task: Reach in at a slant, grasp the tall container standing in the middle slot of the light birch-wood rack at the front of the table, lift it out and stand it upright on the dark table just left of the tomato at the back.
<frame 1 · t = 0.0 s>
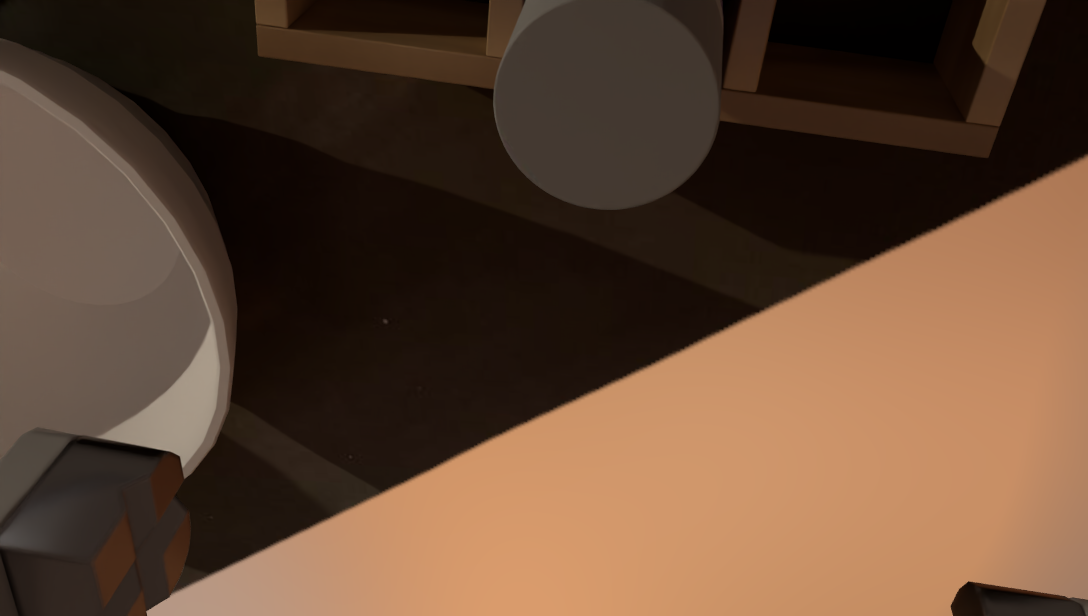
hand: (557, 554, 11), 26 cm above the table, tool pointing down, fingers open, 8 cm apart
bowl: (78, 194, 41), on the table
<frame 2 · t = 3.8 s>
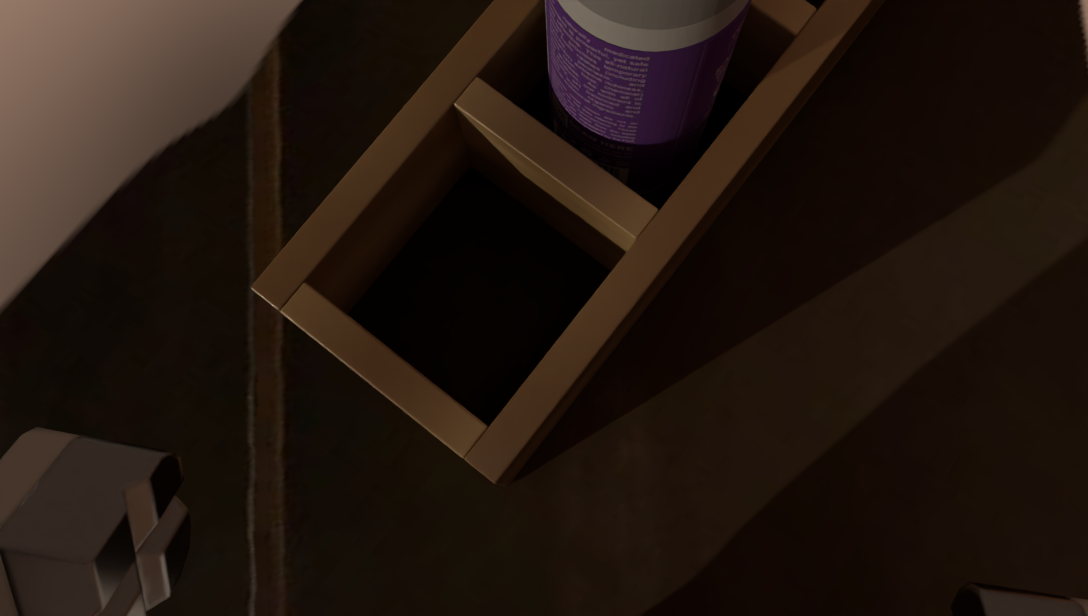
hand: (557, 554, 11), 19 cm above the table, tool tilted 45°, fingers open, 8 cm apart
container: (625, 127, 32), resting in rack
rack: (625, 125, 31), on the table
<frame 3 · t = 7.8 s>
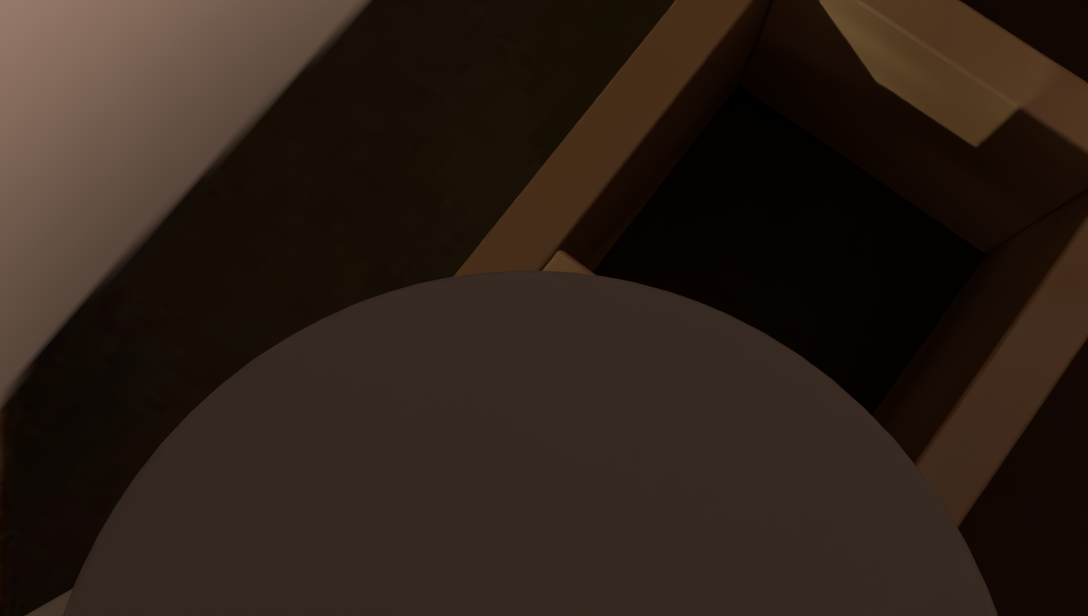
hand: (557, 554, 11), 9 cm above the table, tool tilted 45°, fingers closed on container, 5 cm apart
container: (560, 568, 19), resting in rack, touching gripper
rack: (560, 569, 19), on the table
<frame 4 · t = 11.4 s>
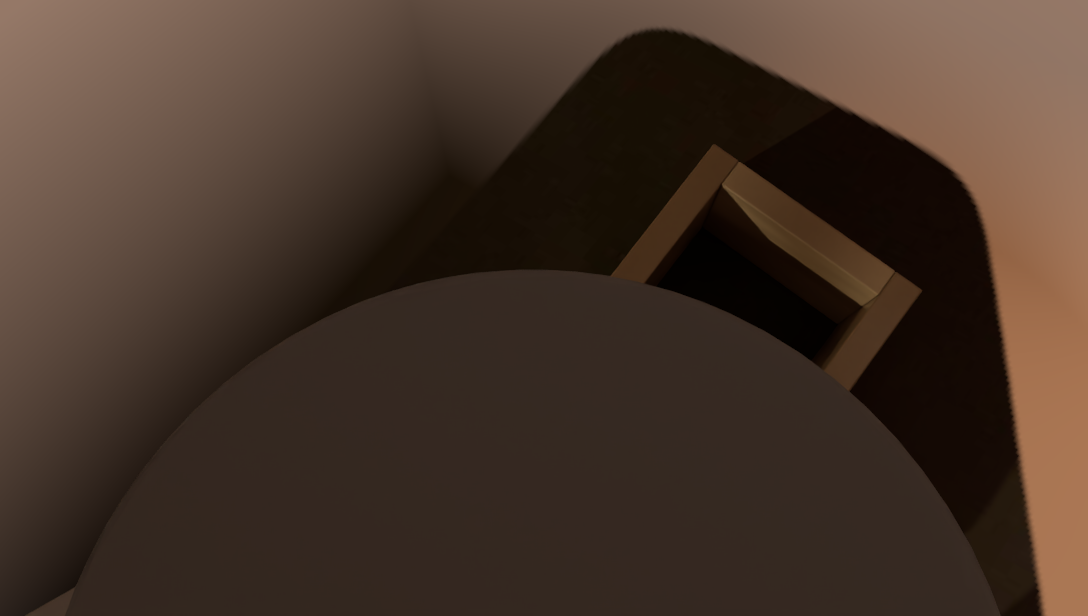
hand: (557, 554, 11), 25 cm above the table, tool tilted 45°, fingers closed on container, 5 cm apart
container: (561, 568, 19), point 16 cm above the table, touching gripper
rack: (602, 496, 35), on the table
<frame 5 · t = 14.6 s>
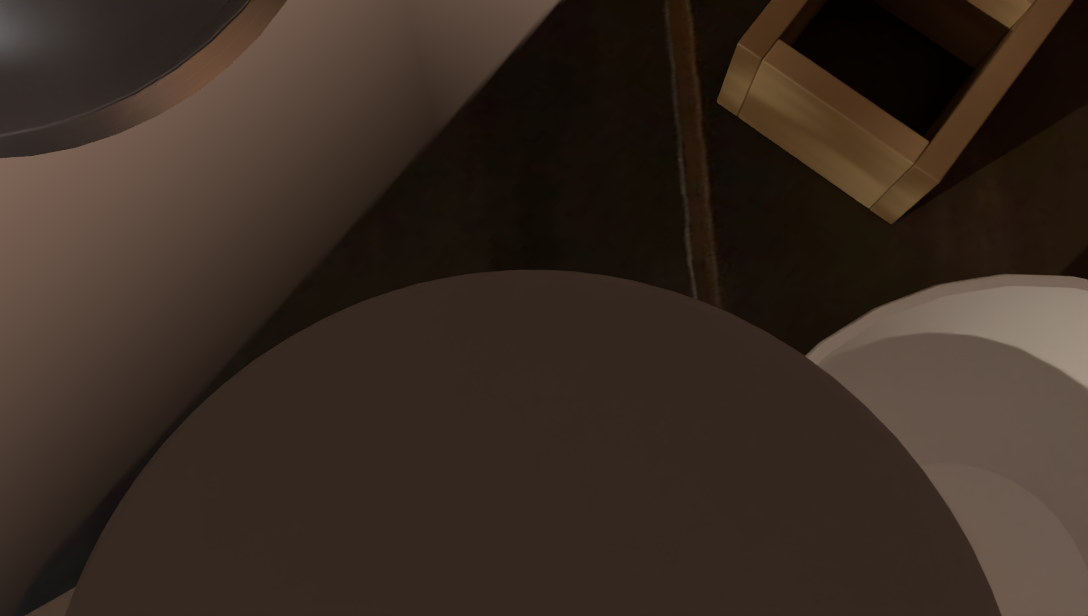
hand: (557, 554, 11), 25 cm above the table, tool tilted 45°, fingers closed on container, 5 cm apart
container: (561, 568, 19), point 16 cm above the table, touching gripper
bowl: (943, 601, 35), on the table
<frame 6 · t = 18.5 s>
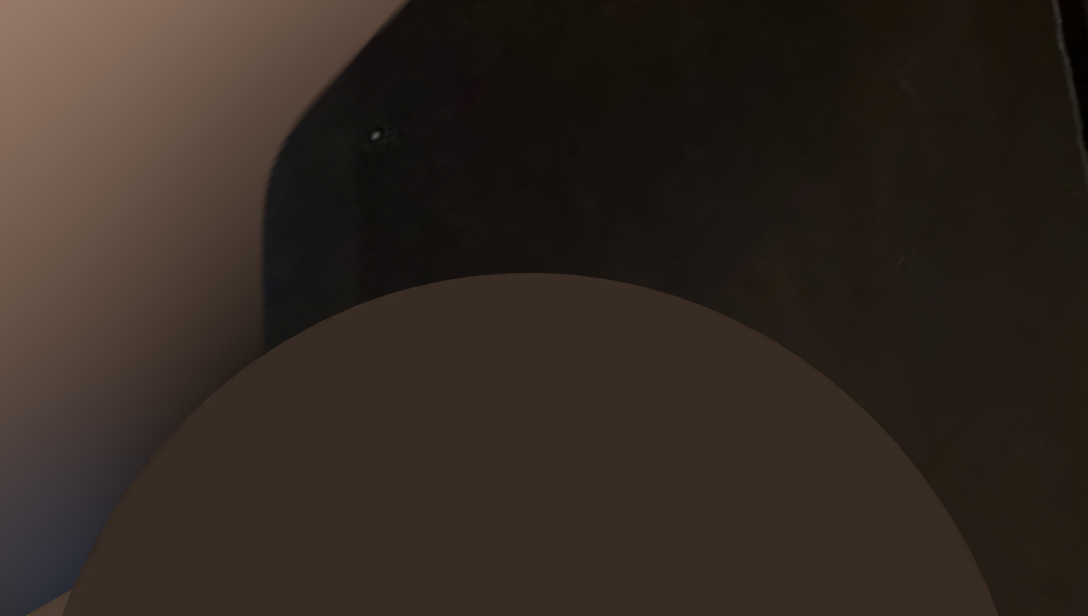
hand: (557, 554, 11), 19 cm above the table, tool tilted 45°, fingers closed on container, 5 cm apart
container: (560, 569, 19), point 10 cm above the table, touching gripper
when the fingers open (9 cm above the table, at t = 21.6 s): container stays where it is, on the table.
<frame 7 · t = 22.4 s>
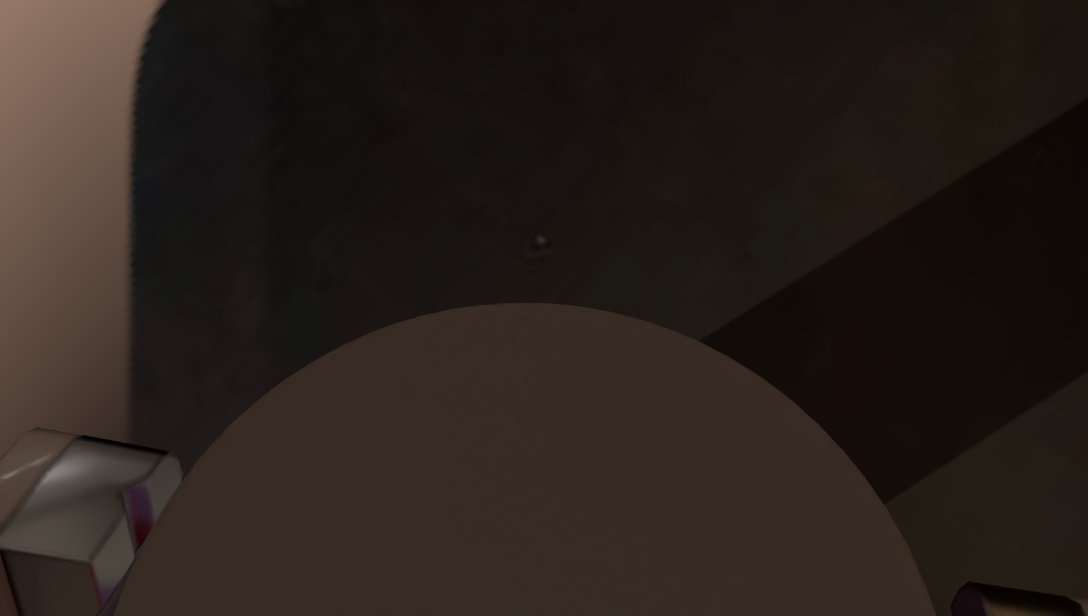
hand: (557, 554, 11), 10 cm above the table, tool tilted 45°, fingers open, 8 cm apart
container: (558, 568, 20), on the table
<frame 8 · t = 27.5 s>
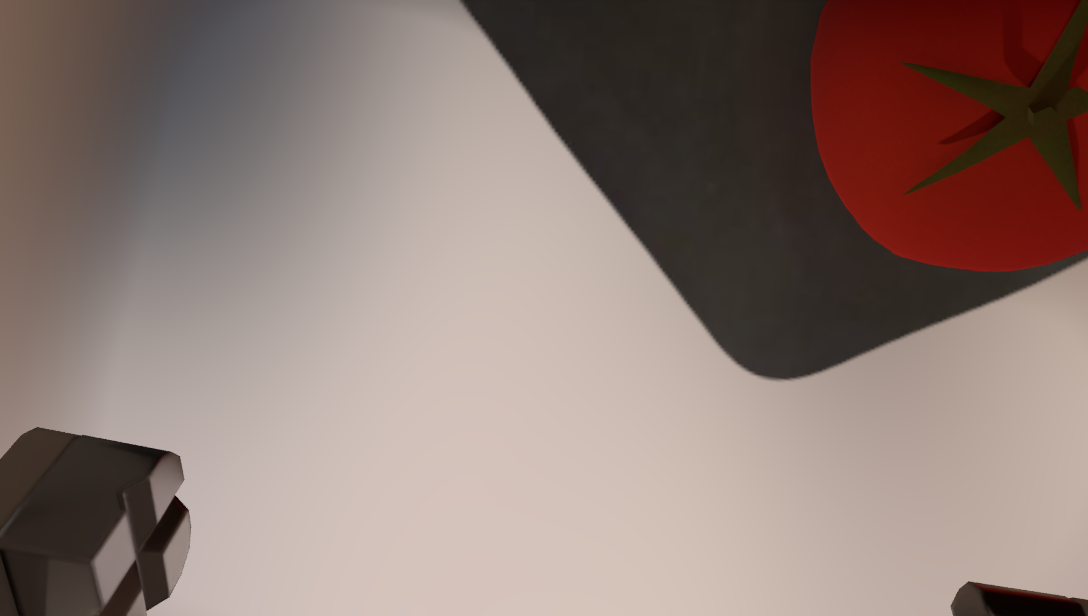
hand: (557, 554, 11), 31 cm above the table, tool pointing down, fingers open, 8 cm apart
tomato: (978, 9, 37), on the table
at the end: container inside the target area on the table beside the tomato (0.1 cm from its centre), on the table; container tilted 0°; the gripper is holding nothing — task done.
